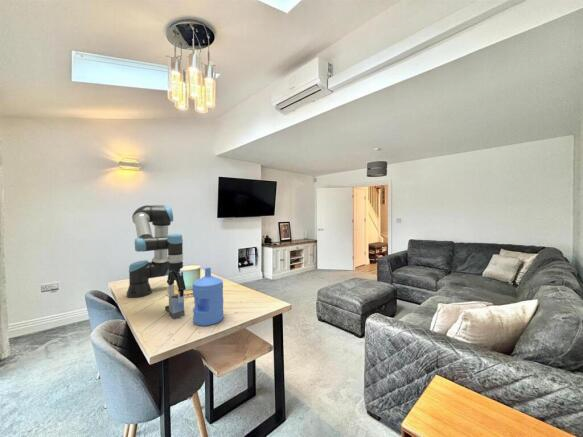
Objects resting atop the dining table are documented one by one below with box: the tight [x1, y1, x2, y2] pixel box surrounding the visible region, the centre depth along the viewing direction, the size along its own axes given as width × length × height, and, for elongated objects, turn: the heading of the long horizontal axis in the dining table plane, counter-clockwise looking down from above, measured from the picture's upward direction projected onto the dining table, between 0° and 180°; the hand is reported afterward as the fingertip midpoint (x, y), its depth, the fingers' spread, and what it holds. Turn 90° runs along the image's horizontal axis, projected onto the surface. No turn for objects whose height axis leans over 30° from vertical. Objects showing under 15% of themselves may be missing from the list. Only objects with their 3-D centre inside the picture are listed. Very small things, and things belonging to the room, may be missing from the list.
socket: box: [168, 294, 185, 314], centre depth 136 cm, size 6×6×8 cm
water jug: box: [192, 267, 225, 327], centre depth 131 cm, size 16×16×28 cm
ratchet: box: [164, 304, 186, 320], centre depth 140 cm, size 17×6×8 cm, turn 46°
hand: (176, 298), depth 137 cm, fingers open, 13 cm apart
